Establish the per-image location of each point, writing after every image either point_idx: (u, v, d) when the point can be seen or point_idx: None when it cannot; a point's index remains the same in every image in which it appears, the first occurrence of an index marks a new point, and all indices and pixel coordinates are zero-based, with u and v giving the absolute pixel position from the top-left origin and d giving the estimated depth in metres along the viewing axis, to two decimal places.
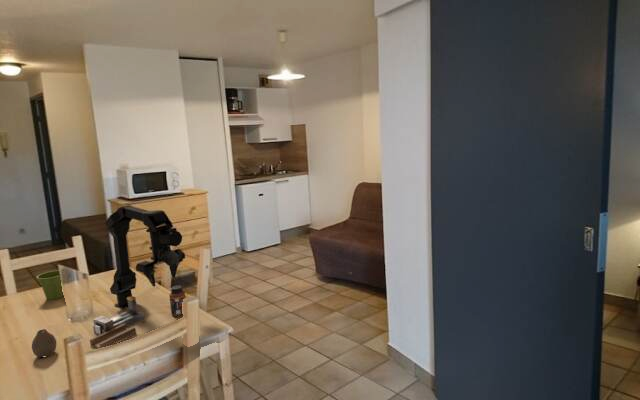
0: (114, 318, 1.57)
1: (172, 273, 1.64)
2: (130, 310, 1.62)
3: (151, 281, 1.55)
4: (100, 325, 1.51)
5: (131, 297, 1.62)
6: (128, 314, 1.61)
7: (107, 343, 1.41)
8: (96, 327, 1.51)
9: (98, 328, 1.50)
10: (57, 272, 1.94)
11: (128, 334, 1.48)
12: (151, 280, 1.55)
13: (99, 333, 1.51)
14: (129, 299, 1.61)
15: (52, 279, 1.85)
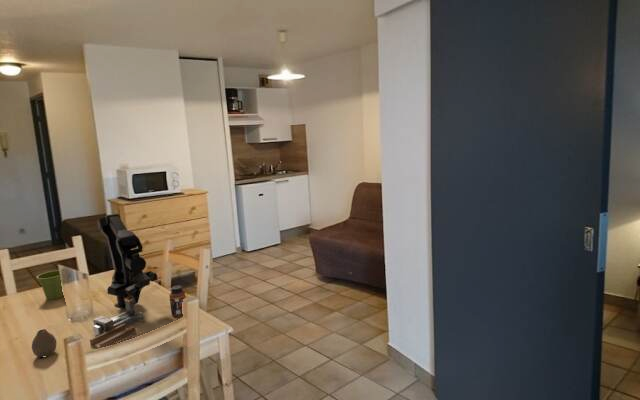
0: (112, 318, 1.56)
1: None
2: (128, 311, 1.61)
3: (133, 299, 1.63)
4: (99, 326, 1.51)
5: (129, 298, 1.61)
6: (126, 315, 1.61)
7: (107, 343, 1.41)
8: (94, 328, 1.50)
9: (97, 329, 1.50)
10: (57, 272, 1.94)
11: (128, 334, 1.48)
12: (133, 298, 1.62)
13: (98, 334, 1.50)
14: (127, 300, 1.60)
15: (52, 279, 1.85)
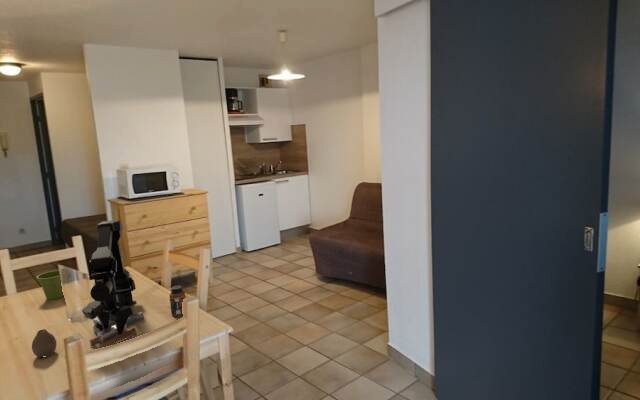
0: None
1: None
2: None
3: None
4: (103, 333, 1.43)
5: None
6: None
7: (107, 343, 1.41)
8: (98, 335, 1.43)
9: (101, 336, 1.42)
10: (57, 272, 1.94)
11: (128, 334, 1.48)
12: None
13: (102, 341, 1.42)
14: None
15: (52, 279, 1.85)
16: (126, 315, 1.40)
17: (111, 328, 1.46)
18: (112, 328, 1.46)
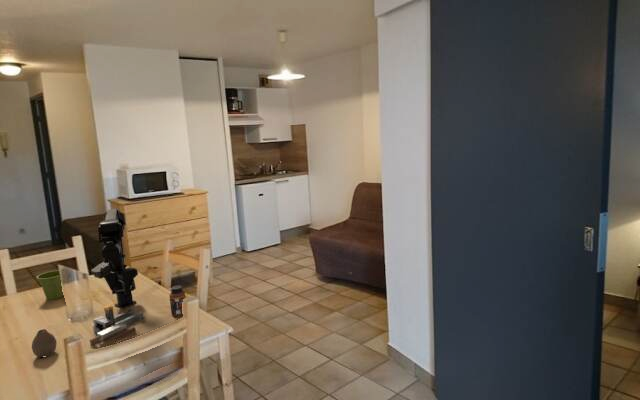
0: (117, 325, 1.48)
1: None
2: None
3: None
4: (103, 333, 1.43)
5: (108, 306, 1.54)
6: None
7: (107, 343, 1.41)
8: (98, 335, 1.43)
9: (101, 336, 1.42)
10: (57, 272, 1.94)
11: (128, 334, 1.48)
12: None
13: (102, 341, 1.42)
14: (106, 309, 1.53)
15: (52, 279, 1.85)
16: (131, 275, 1.54)
17: (111, 328, 1.46)
18: (112, 328, 1.46)
